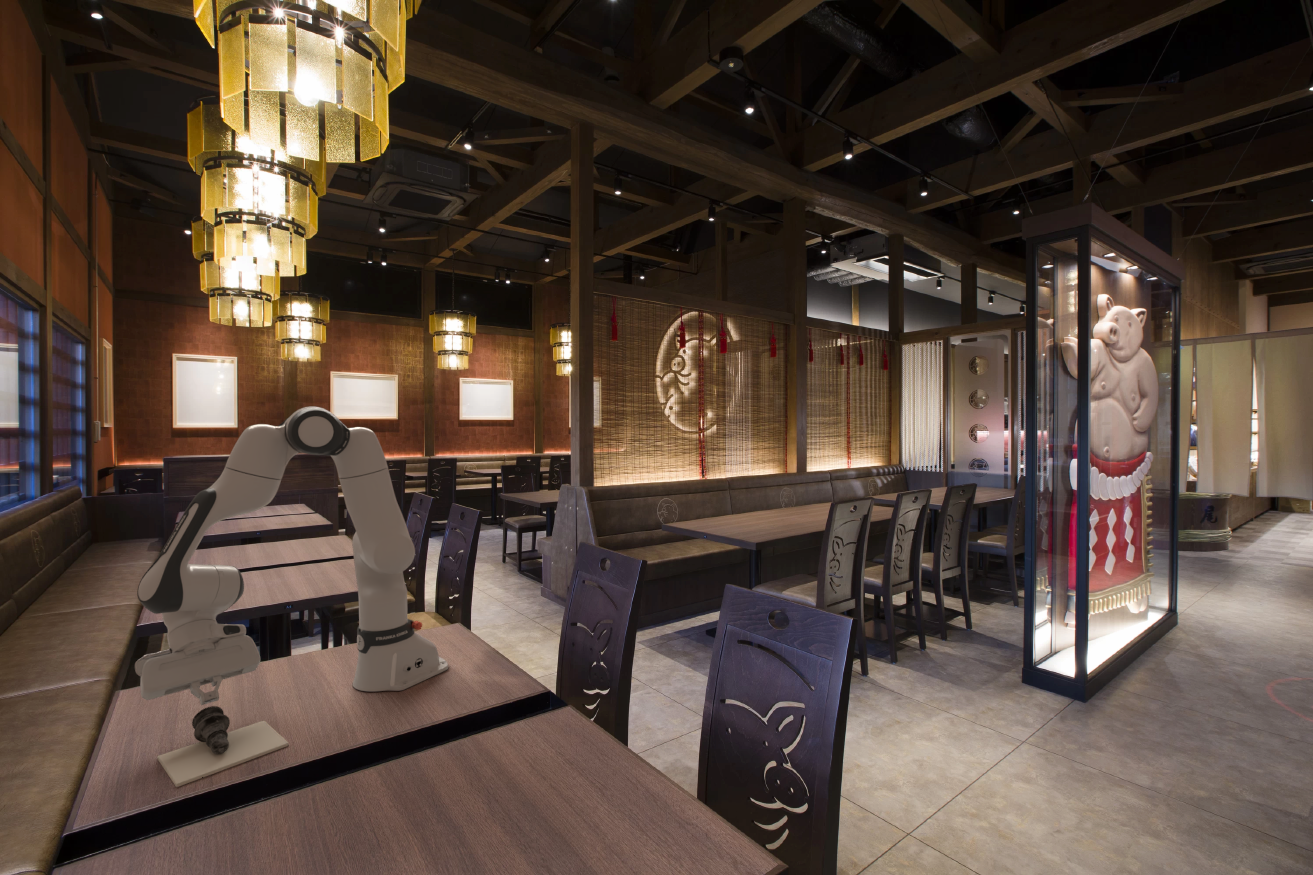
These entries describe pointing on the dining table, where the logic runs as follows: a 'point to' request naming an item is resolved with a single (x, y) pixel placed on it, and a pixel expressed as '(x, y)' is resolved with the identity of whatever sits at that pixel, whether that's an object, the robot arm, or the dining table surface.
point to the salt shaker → (212, 728)
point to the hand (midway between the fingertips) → (210, 701)
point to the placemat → (204, 762)
